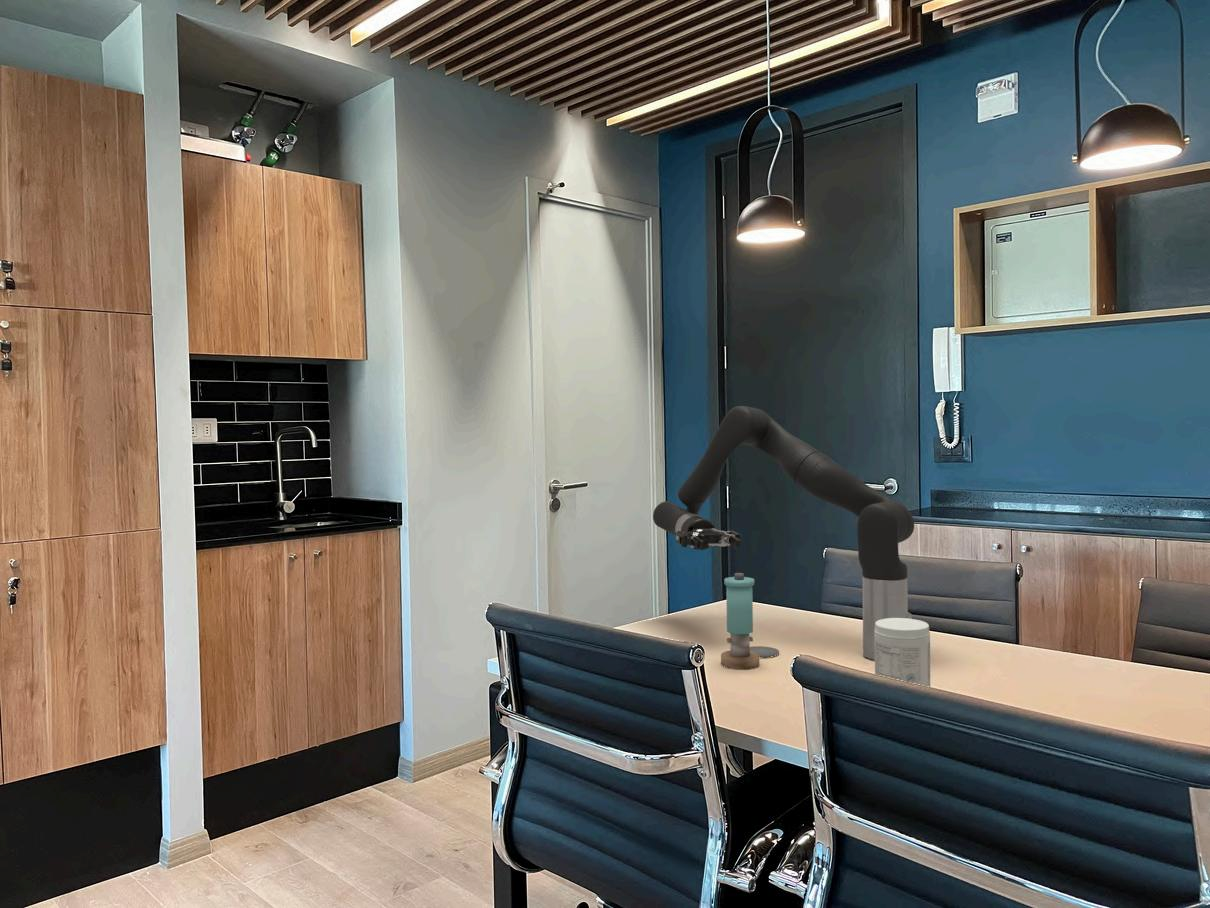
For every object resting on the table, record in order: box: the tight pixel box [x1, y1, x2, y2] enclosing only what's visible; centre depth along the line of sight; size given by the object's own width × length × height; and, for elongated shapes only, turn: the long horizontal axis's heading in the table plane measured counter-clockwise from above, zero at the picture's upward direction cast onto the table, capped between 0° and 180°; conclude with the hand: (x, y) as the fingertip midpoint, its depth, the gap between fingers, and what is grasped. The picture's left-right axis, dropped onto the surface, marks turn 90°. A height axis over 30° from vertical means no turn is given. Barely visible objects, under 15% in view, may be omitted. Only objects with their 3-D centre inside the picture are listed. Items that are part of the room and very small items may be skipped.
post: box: [720, 633, 760, 670], centre depth 191 cm, size 8×8×7 cm
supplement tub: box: [874, 618, 931, 688], centre depth 162 cm, size 10×10×15 cm
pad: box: [750, 645, 780, 657], centre depth 199 cm, size 8×8×1 cm
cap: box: [723, 572, 755, 634], centre depth 190 cm, size 6×6×12 cm
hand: (719, 544), depth 200 cm, fingers open, 8 cm apart
